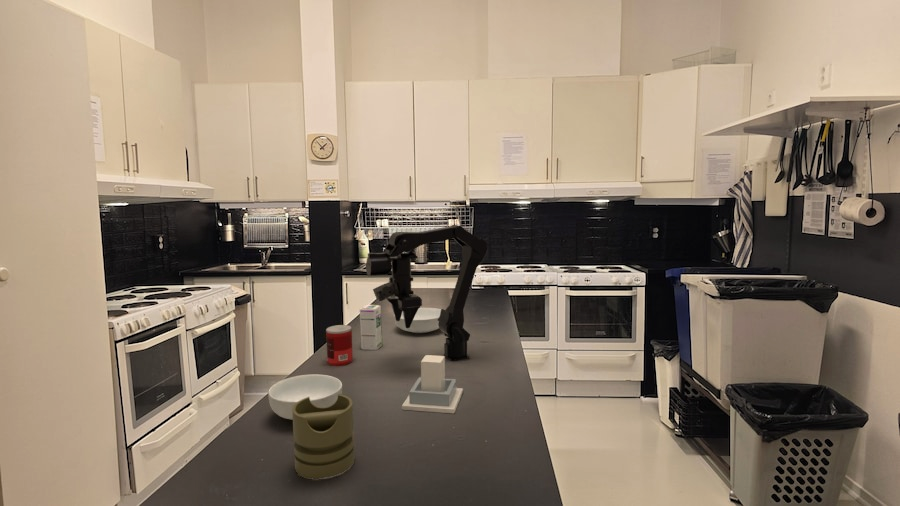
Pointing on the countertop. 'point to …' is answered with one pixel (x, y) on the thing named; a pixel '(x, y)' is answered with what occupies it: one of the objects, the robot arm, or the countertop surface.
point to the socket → (434, 398)
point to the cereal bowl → (303, 392)
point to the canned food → (339, 345)
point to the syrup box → (371, 327)
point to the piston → (323, 437)
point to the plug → (433, 373)
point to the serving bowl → (421, 321)
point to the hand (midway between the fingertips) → (402, 324)
